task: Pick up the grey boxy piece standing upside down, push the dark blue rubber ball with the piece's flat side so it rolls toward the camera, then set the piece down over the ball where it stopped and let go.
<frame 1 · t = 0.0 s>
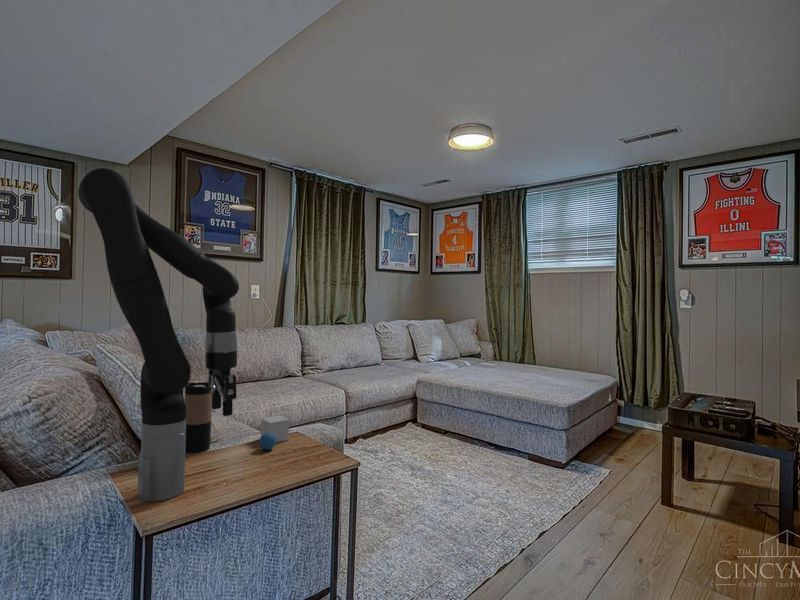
hand: (221, 412, 109), 17 cm above the table, tool pointing down, fingers open, 8 cm apart
grey boxy piece: (274, 439, 141), on the table
travel mug: (196, 450, 130), on the table
ball: (267, 441, 131), on the table
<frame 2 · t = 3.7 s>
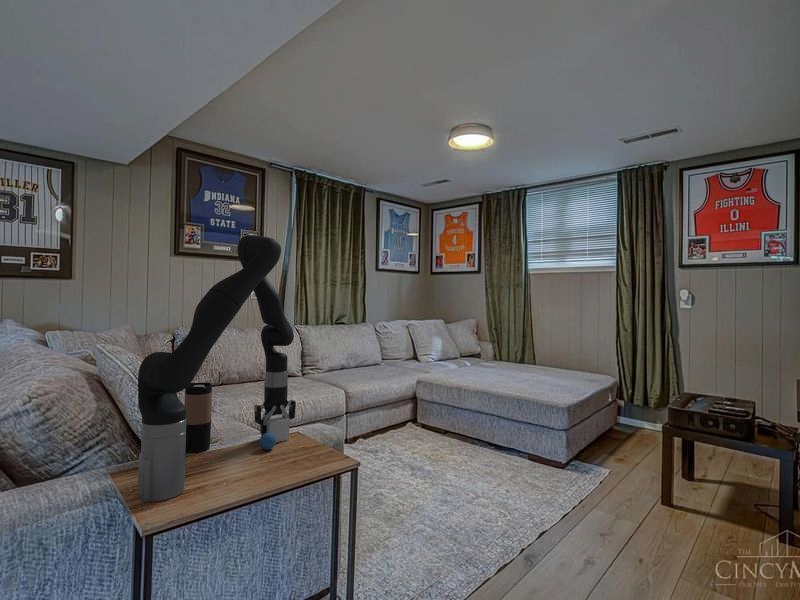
hand: (274, 433, 141), 2 cm above the table, tool pointing down, fingers closed on grey boxy piece, 7 cm apart
grey boxy piece: (274, 439, 141), on the table, touching gripper
everything else where it was.
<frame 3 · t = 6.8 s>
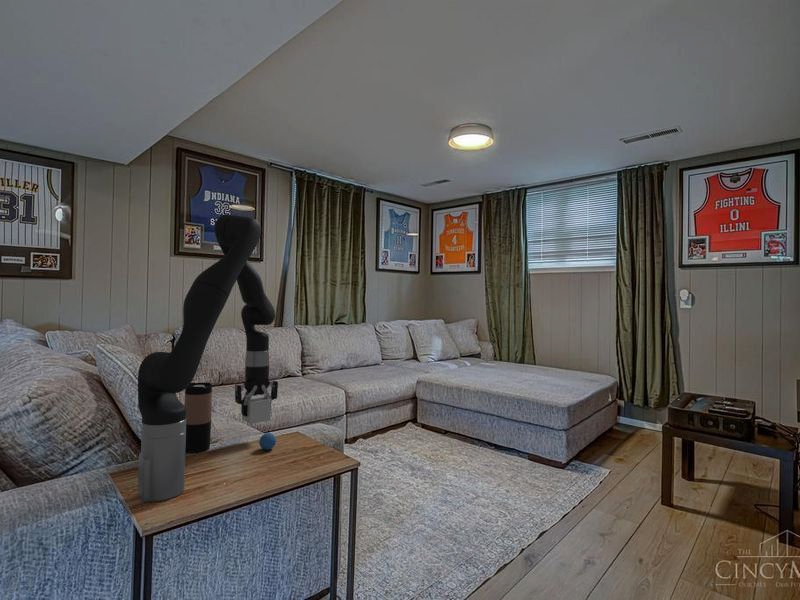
hand: (256, 414, 139), 9 cm above the table, tool pointing down, fingers closed on grey boxy piece, 7 cm apart
grey boxy piece: (256, 419, 139), point 7 cm above the table, touching gripper
everything else where it was.
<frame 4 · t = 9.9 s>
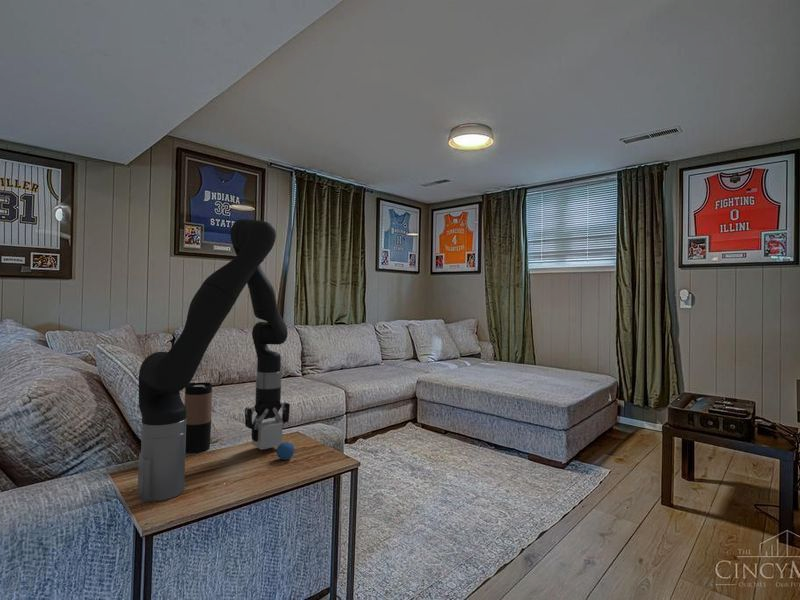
hand: (267, 438, 132), 3 cm above the table, tool pointing down, fingers closed on grey boxy piece, 7 cm apart
grey boxy piece: (266, 444, 132), point 1 cm above the table, touching gripper
ball: (285, 450, 123), on the table
everything else where it was.
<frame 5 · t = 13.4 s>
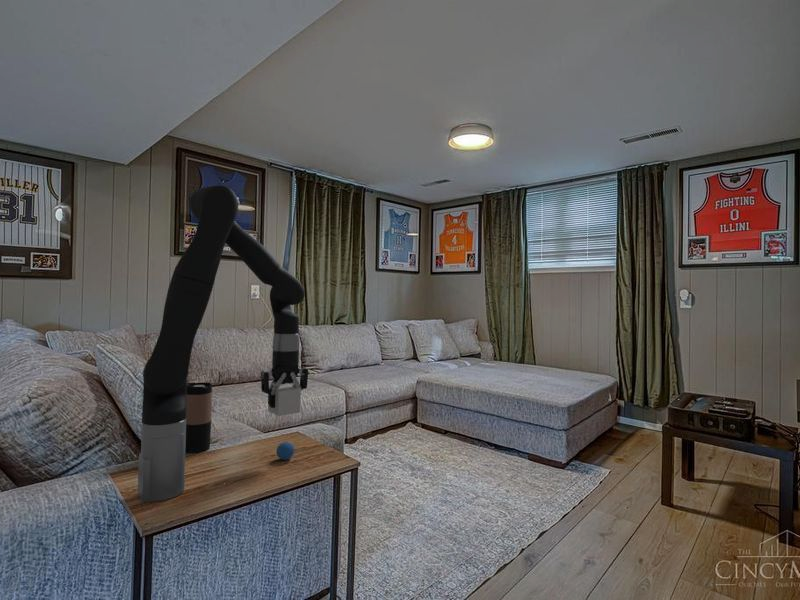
hand: (284, 405, 123), 16 cm above the table, tool pointing down, fingers closed on grey boxy piece, 7 cm apart
grey boxy piece: (284, 411, 123), point 14 cm above the table, touching gripper
everything else where it was.
when the fingers open (2 cm above the table, at t = 16.9 s): grey boxy piece stays where it is, on the table.
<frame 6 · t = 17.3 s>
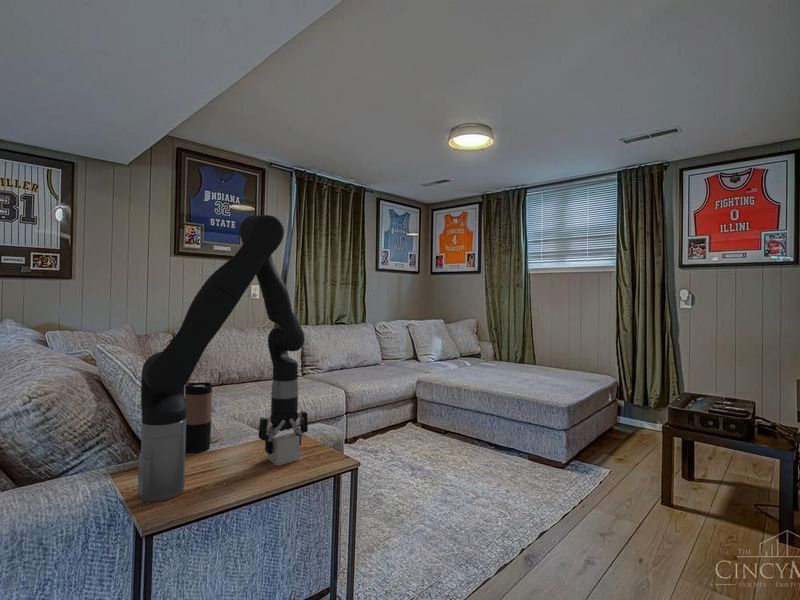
hand: (283, 450, 123), 3 cm above the table, tool pointing down, fingers open, 8 cm apart
grey boxy piece: (283, 459, 123), on the table
everything else where it was.
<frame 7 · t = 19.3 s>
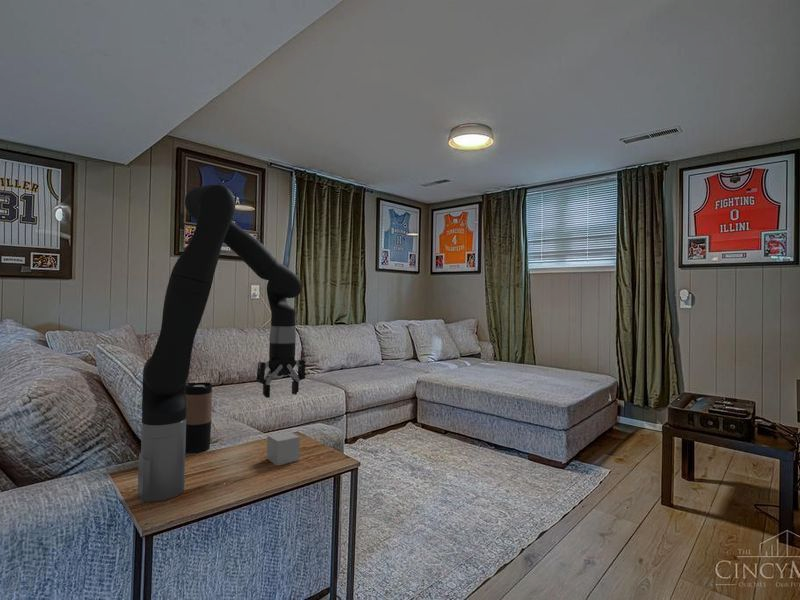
hand: (281, 395, 125), 18 cm above the table, tool pointing down, fingers open, 8 cm apart
nothing on the table moved.
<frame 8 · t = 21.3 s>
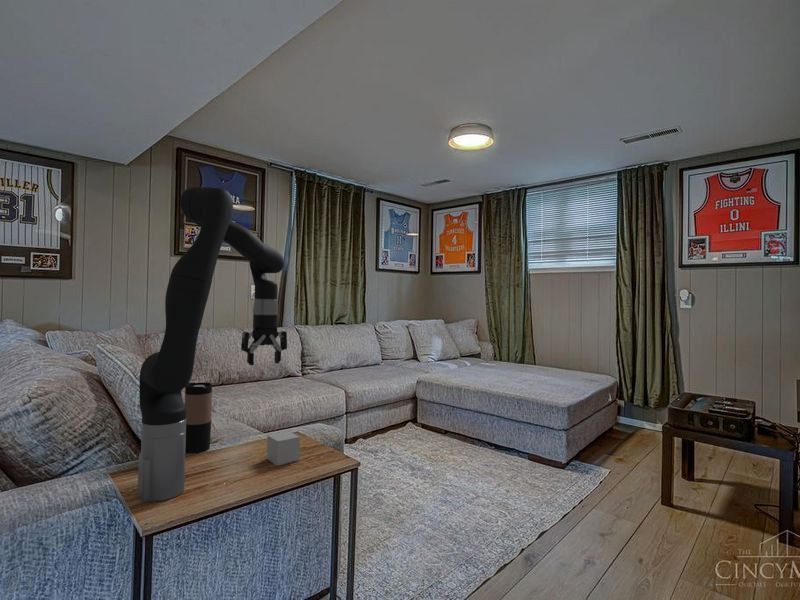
hand: (264, 364, 135), 26 cm above the table, tool pointing down, fingers open, 8 cm apart
nothing on the table moved.
at the end: ball 0.4 cm from the grey boxy piece (horizontally); grey boxy piece on the table; ball moved 11.3 cm from its start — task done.
